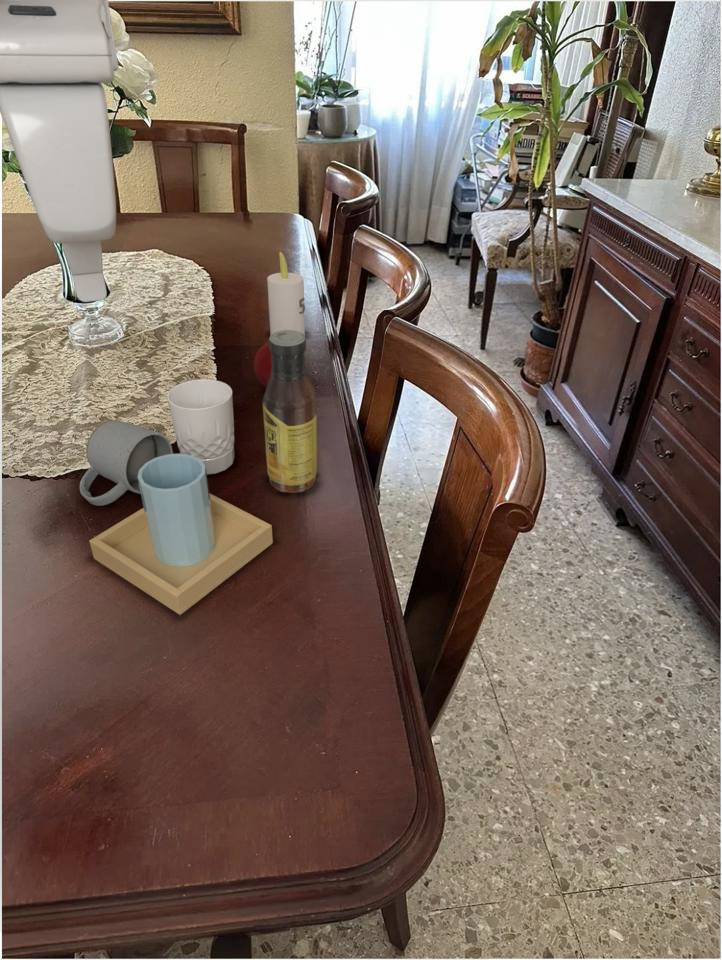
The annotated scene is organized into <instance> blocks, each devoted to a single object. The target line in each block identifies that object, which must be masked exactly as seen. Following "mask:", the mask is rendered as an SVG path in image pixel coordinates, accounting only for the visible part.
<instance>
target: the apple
mask: <svg viewBox="0 0 722 960" xmlns="http://www.w3.org/2000/svg"><path fill="white" fill-rule="evenodd" d="M271 368H272V363H271V352H270V350H269V341H268V342H266V343H265V344H263V345H262V346H261V347H260V348H258V350H257V352H256V353H255V357H254V361H253V369H254V370H253V371H254V374H255V378H256V379H257V381H258V382H259V384H260V385H261V386H263V387H264V388H265V389H266V387H267V384H268V381H269V378H270V375H271Z"/></svg>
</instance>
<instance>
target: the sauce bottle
mask: <svg viewBox="0 0 722 960" xmlns="http://www.w3.org/2000/svg"><path fill="white" fill-rule="evenodd" d="M268 342H269V350H270V352H271V363H272V368H271V375H270V378H269V381H268V384H267V387H266V388H265V391H264V394H263V397H262V414H263V429H264V431H263V433H264V444H265V458H266V459H265V460H266V472H267V475H268V481H269V483H270V485H271V486H272V487H273V488H274V489H275V490H276V491H278V492H279V493H286V494H298V493H303V492H306V491H308V490H310V489H311V488H312V487H313V486H314V485H315V482H316V480H317V479H316V478H317V473H318V424H317V423H318V422H317V420H318V419H317V415H318V414H317V406H316V398H317V396H316V395H317V394H316V390H315V389H316V388H315V387H314V384H313V382H312V381H311V380H310V378H309V377H308V375H307V374H306V372H307V367H306V361H305V355H306V354H305V353H306V351H307V338H306V335H305V336H304V334H302V333H300V332H297V331H293V330H283V331H278V332H275V333H273V334H272V335H270V336H269V337H268Z"/></svg>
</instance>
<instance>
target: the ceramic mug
mask: <svg viewBox="0 0 722 960" xmlns="http://www.w3.org/2000/svg"><path fill="white" fill-rule="evenodd" d="M85 447H86V449H85V456H86V460H87V462H88V464H89V465H90V468H88V470H86V472H85V473H84V475H82V478H81V480H80V482H79V492H80V495H81V496H82V497H83V498H84V499H85V500H86V501H87V502H88V503H89V504H90V505H93V506H95V507H103V506H106V505H110V504H112V503H114V502H115V501H117V500H118V499H119V498H120V497H122V496H123V495H124V494H125V493H126V492H127V491H130V492H132V493H135V494H137V495H139V494H140V495H141V492H140V487H139V483H138V478H137V477H138V472H139V470H140V469H141V467H142V466H143V465H144V464H145V463H147V462H148V461H150V460H152V459H154V458H156V457H160V456H163V455H167V454H174V451H173V446H172V444H171V441H170V440H169V439H168V437H167V436H165V434H163V433H162V432H159V431H155V430H152V429H149V428H146V427H143V426H139V425H136V424H132V423H129V422H127V421H120V420H109V421H105V422H103V423H101V424H100V425H98V426H97V427H96V428H95V429H94V430H93V431H92V433H91V434H90V435H89V438H88V440H87V443H86V446H85ZM98 475H100V476H102V477H103V478H105V479H108V480H110V481H112V482H114V483H115V484H116V485H115V486H113V487H112V488H111V489H110V490H109V491H107V492H106V493H104V494H101V495H98V496H93V495H92V492H90V487H91V485H92V483H93V481H94V480H95V479H96V478H97V477H98Z"/></svg>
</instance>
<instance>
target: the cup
mask: <svg viewBox="0 0 722 960" xmlns="http://www.w3.org/2000/svg"><path fill="white" fill-rule="evenodd" d="M137 478H138V483H139V487H140V492H141V494H140V497H141V502H142V505H143V508H144V511H145V516H146V521H147V525H148V530H149V535H150V540H151V544H152V549H153V551H154V555H155V557H156V558H157V559H158V560H159V561H160V562H161V563H163V564H165V565H168V566H174V567H185V566H190V565H194V564H197V563H199V562H201V561H203V560H204V559H206V558H207V557H208V556H209V555H210V554H211V553H212V552H213V550H214V548H215V532H214V524H213V517H212V510H211V502H210V495H209V493H210V489H209V480H208V474H207V473H206V466H205V464H204V463H203V462H202V460H201V459H199V458H197V457H195V456H193V455H187V454H180V453H173V454H167V455H163V456H160V457H156V458H154V459H152V460H150V461H148V462H147V463H145V464H144V465H143V466H142V467H141V469H140V470H139V472H138V477H137Z"/></svg>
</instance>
